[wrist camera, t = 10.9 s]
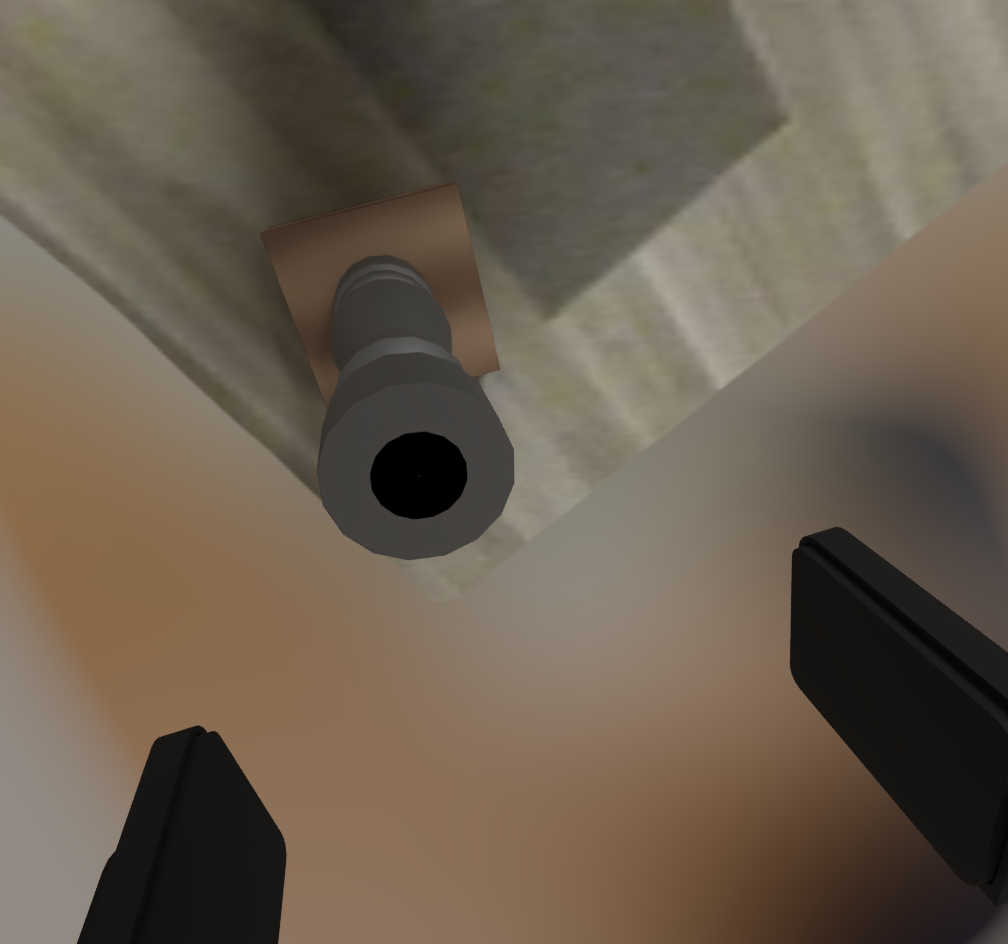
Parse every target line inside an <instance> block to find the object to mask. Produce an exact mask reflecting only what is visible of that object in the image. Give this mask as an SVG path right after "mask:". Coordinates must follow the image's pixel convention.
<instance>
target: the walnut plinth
mask: <svg viewBox="0 0 1008 944" xmlns="http://www.w3.org/2000/svg"><path fill="white" fill-rule="evenodd" d="M261 237H262V240H263V242H264V245H265V247H266V250H267V253H268V255H269V258H270V261H271V263H272V266H273V268H274V271H275V274H276V276H277V279H278V281H279V284H280V287H281V289H282V292H283V295H284V297H285V300H286V302H287V305H288V308H289V310H290V313H291V315H292V318H293V321H294V323H295V326H296V329H297V331H298V334H299V336H300V339H301V342H302V344H303V347H304V349H305V352H306V355H307V357H308V360H309V363H310V365H311V368H312V370H313V373H314V376H315V378H316V381H317V383H318V386H319V389H320V391H321V394H322V397H323V399H324V402H325V404H326V407H327V410H328V406H329V403H330V399H331V397H332V395H333V394H334V391H335V388H336V384H337V381H338V377H339V373H340V371H339V370H338V368H337V366H336V365H335V363H334V362H333V359H332V352H331V346H330V339H329V334H330V330H331V326H332V322H333V319H334V316H333V304H334V298H335V294H336V291H337V287H338V283H339V280H340V279H341V277H342V276H343V275H344V274H345V272H346V271H347V270H348V269H349V268H350V266H351V265H352V264H354V263H356V262H358V261H360V260H362V259H364V258H366V257H368V256H380V255H390V256H393V257H396V258H399V259H402V260H404V261H407V262H409V263H410V264H411V265H412V266H413V267H414V268H415V269H416V270H418V271H419V272H420V273H421V274H422V275H423V276H424V278H425V280H426V281H427V283H428V285H429V287H430V289H431V291H432V293H433V295H434V297H435V299H436V301H437V302H438V303H439V304H440V306H441V308H442V310H443V312H444V314H445V316H446V318H447V320H448V322H449V324H450V326H451V335H452V353H451V354H452V355H453V356H454V357H455V358H457V359H458V360H459V361H460V363H461V365H462V367H463V369H464V371H465V372H466V373H467V374H469V375H470V376H471V377H476V376H479V375H483V374H487V373H490V372H494V371H497V370H500V366H499V362H498V357H497V353H496V349H495V344H494V340H493V336H492V331H491V327H490V323H489V318H488V314H487V310H486V305H485V301H484V297H483V293H482V288H481V284H480V280H479V275H478V271H477V267H476V262H475V258H474V254H473V249H472V245H471V241H470V236H469V232H468V228H467V224H466V219H465V215H464V211H463V206H462V202H461V198H460V193H459V189H458V185H457V183H452V182H446V183H442V184H439V185H435V186H431V187H427V188H423V189H419V190H415V191H411V192H407V193H403V194H399V195H395V196H392V197H388V198H384V199H380V200H376V201H372V202H368V203H364V204H360V205H356V206H352V207H348V208H345V209H341V210H337V211H333V212H329V213H325V214H321V215H317V216H313V217H309V218H305V219H301V220H297V221H294V222H290V223H286V224H282V225H278V226H274V227H270V228H268V229H266V230H265V231H264V232H262V233H261Z"/></svg>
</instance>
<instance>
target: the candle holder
mask: <svg viewBox="0 0 1008 944" xmlns="http://www.w3.org/2000/svg"><path fill="white" fill-rule="evenodd" d="M333 316H334V319H333V322H332V326H331V330H330V334H329V339H330V346H331V352H332V359H333V362H334V363H335V365H336V366H337V368H338V370H339V371H340V373H339V377H338V381H337V384H336V388H335V391H334V394H333V395H332V397H331V399H330V403H329V406H328V410H327V413H326V417H325V420H324V424H323V427H322V434H321V442H320V450H319V457H318V465H317V474H318V480H319V486H320V491H321V497H322V503H323V506H324V508H325V509H326V511H327V512H328V513H329V515H330V516H331V518H332V519H333V520H334V522H335V523H336V525H337V526H338V528H339V529H340V530H341V532H342V533H343V534H344V535H345V536H347V537H348V538H350V539H352V540H353V541H355V542H357V543H358V544H360V545H361V546H363V547H364V548H366V549H368V550H369V551H371V552H373V553H375V554H380V555H385V556H391V557H396V558H401V559H406V560H414V559H421V558H429V557H436V556H443V555H447V554H449V553H451V552H453V551H455V550H457V549H459V548H461V547H463V546H465V545H467V544H469V543H471V542H473V541H475V540H477V539H478V538H479V537H480V536H481V535H482V534H483V533H484V532H485V531H486V530H487V528H488V527H489V526H490V525H491V524H492V523H493V522H494V521H495V520H496V519H497V518H498V517H499V516H500V515H501V514H502V511H503V509H504V506H505V504H506V502H507V499H508V497H509V494H510V492H511V489H512V487H513V485H514V449H513V446H512V444H511V442H510V440H509V438H508V436H507V434H506V432H505V430H504V428H503V426H502V424H501V422H500V420H499V418H498V416H497V414H496V412H495V411H494V409H493V407H492V405H491V403H490V402H489V400H488V398H487V396H486V395H485V393H484V391H483V389H482V388H481V386H480V384H479V383H478V382H477V381H476V380H474V379H473V378H472V377H471V376H470V375H469V374H467V373H466V372H465V371H464V369H463V367H462V365H461V363H460V361H459V360H458V359H457V358H455V357H454V356H453V355H452V354H451V353H452V335H451V326H450V324H449V322H448V320H447V318H446V316H445V314H444V312H443V310H442V308H441V306H440V304H439V303H438V302H437V301H436V299H435V297H434V295H433V293H432V291H431V289H430V287H429V285H428V283H427V281H426V280H425V278H424V276H423V275H422V274H421V273H420V272H419V271H418V270H416V269H415V268H414V267H413V266H412V265H411V264H410V263H409V262H407V261H404V260H402V259H399V258H396V257H393V256H390V255H380V256H368V257H366V258H364V259H362V260H360V261H358V262H356V263H354V264H352V265H351V266H350V268H349V269H348V270H347V271H346V272H345V274H344V275H343V276H342V277H341V279H340V280H339V283H338V287H337V291H336V294H335V298H334V304H333Z"/></svg>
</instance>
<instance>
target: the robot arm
mask: <svg viewBox="0 0 1008 944" xmlns="http://www.w3.org/2000/svg"><path fill="white" fill-rule="evenodd" d="M790 644H791V645H790V669H791V673H792V675H793V678H794V680H795V682H796V683H797V685H798V687H799V688H800V690H801V691H802V692H803V693H804V694H805V695H806V697H807V698H808V699H809V700H810V701H811V703H812V704H813V705H814V706H815V707H816V709H817V710H818V711H819V712H820V713H821V715H822V716H823V717H824V718H825V719H826V721H827V722H828V723H829V724H830V725H831V726H832V728H833V729H834V730H835V731H836V732H837V733H838V735H839V736H840V737H841V738H842V740H843V741H844V742H845V743H846V744H847V745H848V747H849V748H850V749H851V750H852V751H853V753H854V754H855V755H856V756H857V757H858V759H859V760H860V761H861V762H862V763H863V764H864V766H865V767H866V768H867V769H868V770H869V772H870V773H871V774H872V775H873V776H874V778H875V779H876V780H877V781H878V782H879V783H880V785H881V786H882V787H883V788H884V790H885V791H886V792H887V793H888V794H889V795H890V797H891V798H892V799H893V800H894V801H895V803H896V804H897V805H898V806H899V807H900V809H901V810H902V811H903V812H904V813H905V814H906V816H907V817H908V818H909V819H910V820H911V822H913V824H914V825H915V826H916V828H917V829H918V830H919V831H920V832H921V833H922V834H923V836H924V837H925V838H926V839H927V841H928V842H929V843H930V844H931V845H932V847H933V848H934V849H935V850H936V851H937V853H938V854H939V855H940V856H941V857H942V858H943V860H944V861H945V862H946V863H947V864H948V866H949V867H950V868H951V869H952V870H953V872H954V873H955V874H956V875H957V876H958V877H959V878H960V879H961V880H963V881H964V882H965V883H966V884H968V885H970V886H977V885H978V886H979V887H980V889H981V890H982V891H983V892H984V893H985V894H986V896H987V897H988V898H989V899H990V900H991V901H992V903H993V904H994V905H995V906H996V907H997V906H1000V905H1002V904H1005V903H1007V902H1008V652H1006V651H1005V650H1004V649H1002V648H1001V647H1000V646H999V645H997V644H996V643H995V642H993V641H992V640H991V639H989V638H988V637H987V636H985V635H984V634H983V633H981V632H980V631H979V630H977V629H976V628H975V627H973V626H972V625H971V624H969V623H968V622H967V621H965V620H964V619H963V618H961V617H960V616H959V615H957V614H956V613H955V612H953V611H952V610H951V609H949V608H948V607H947V606H945V605H944V604H943V603H942V602H940V601H939V600H937V599H936V598H935V597H934V596H932V595H931V594H930V593H928V592H927V591H926V590H924V589H923V588H921V587H920V586H919V585H918V584H916V583H915V582H914V581H912V580H911V579H910V578H908V577H907V576H906V575H904V574H903V573H902V572H900V571H899V570H898V569H897V568H895V567H894V566H893V565H891V564H890V563H889V562H887V561H886V560H885V559H883V558H882V557H881V556H879V555H878V554H877V553H875V552H874V551H873V550H871V549H870V548H869V547H867V546H866V545H865V544H863V543H862V542H861V541H859V540H858V539H857V538H856V537H854V536H853V535H852V534H850V533H849V532H848V531H846V530H844V529H843V528H840V527H834V528H831V529H828V530H825V531H821V532H818V533H814V534H812V535H808V536H805V537H803V538H802V539H801V541H800V543H799V548H797V549H795V550H794V551H793V553H792V583H791V638H790ZM285 868H286V847H285V842H284V838H283V836H282V833H281V832H280V830H279V829H278V827H277V825H276V824H275V822H274V821H273V819H272V817H271V816H270V814H269V813H268V811H267V810H266V808H265V806H264V805H263V803H262V802H261V800H260V798H259V797H258V795H257V794H256V792H255V790H254V789H253V787H252V786H251V784H250V783H249V781H248V779H247V778H246V776H245V775H244V773H243V772H242V770H241V768H240V767H239V765H238V763H237V762H236V761H235V759H234V757H233V755H232V754H231V752H230V751H229V749H228V748H227V746H226V744H225V743H224V741H223V740H222V738H221V737H220V735H219V734H218V733H217V732H215V731H211V732H208V733H207V731H206V730H205V729H204V728H203V727H201V726H194V727H191V728H187V729H184V730H181V731H178V732H175V733H171V734H168V735H165V736H162V737H159V738H158V739H156V740H155V742H154V744H153V745H152V747H151V750H150V754H149V756H148V759H147V762H146V765H145V767H144V770H143V773H142V776H141V779H140V782H139V785H138V788H137V791H136V793H135V796H134V800H133V802H132V805H131V808H130V811H129V814H128V817H127V819H126V822H125V825H124V828H123V831H122V834H121V837H120V840H119V843H118V845H117V848H116V851H115V852H114V853H113V854H112V856H111V857H110V858H109V859H108V861H107V863H106V865H105V867H104V870H103V872H102V874H101V877H100V880H99V883H98V885H97V888H96V891H95V894H94V897H93V900H92V902H91V905H90V908H89V911H88V914H87V917H86V919H85V922H84V925H83V928H82V931H81V933H80V936H79V939H78V942H77V944H278V940H279V930H280V920H281V909H282V898H283V889H284V879H285Z"/></svg>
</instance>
